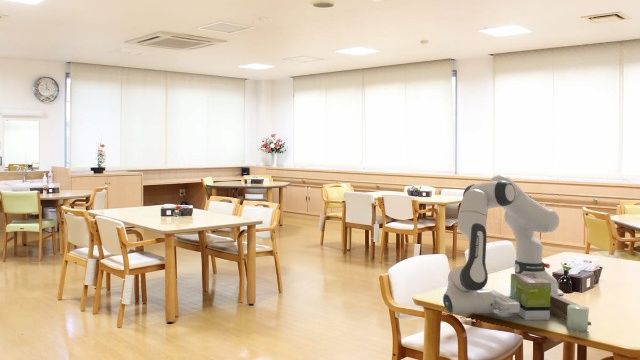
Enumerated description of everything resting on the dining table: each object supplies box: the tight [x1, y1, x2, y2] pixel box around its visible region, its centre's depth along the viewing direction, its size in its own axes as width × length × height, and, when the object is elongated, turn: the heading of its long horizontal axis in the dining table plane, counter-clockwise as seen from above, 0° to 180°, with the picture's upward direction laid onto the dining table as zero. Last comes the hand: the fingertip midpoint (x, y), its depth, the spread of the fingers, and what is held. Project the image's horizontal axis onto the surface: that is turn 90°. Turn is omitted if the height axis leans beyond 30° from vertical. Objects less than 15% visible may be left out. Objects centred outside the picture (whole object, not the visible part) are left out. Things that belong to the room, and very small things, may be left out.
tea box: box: [509, 273, 551, 321], centre depth 227 cm, size 15×10×15 cm
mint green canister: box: [566, 304, 590, 333], centre depth 211 cm, size 7×7×8 cm
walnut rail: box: [550, 293, 592, 325], centre depth 228 cm, size 7×24×7 cm, turn 13°
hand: (517, 300), depth 226 cm, fingers closed
